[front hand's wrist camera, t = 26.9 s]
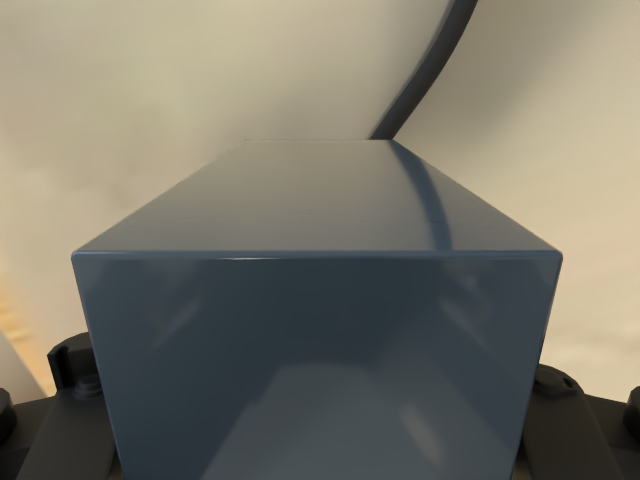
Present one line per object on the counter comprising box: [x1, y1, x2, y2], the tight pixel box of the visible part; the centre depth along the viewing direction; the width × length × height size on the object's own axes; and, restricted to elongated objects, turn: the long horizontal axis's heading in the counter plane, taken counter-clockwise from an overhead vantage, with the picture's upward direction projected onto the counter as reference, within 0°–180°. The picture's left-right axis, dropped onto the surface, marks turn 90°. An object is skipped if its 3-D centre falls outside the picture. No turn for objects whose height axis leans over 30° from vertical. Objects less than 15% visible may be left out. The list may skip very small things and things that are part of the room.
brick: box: [71, 140, 563, 480], centre depth 11 cm, size 6×9×11 cm, turn 0°
